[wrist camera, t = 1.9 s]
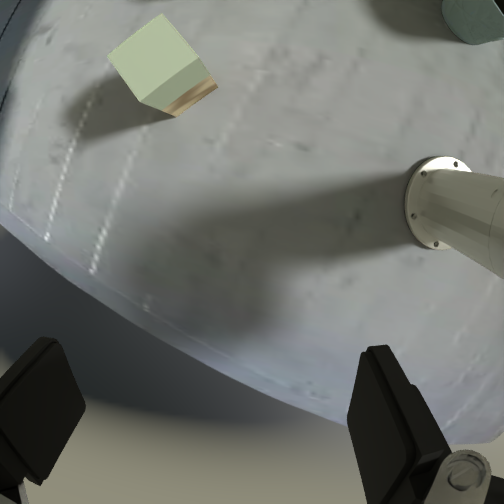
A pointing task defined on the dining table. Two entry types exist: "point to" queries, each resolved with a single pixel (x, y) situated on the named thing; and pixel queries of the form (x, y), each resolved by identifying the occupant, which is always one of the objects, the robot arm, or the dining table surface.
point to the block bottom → (191, 97)
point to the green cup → (475, 19)
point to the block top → (158, 64)
